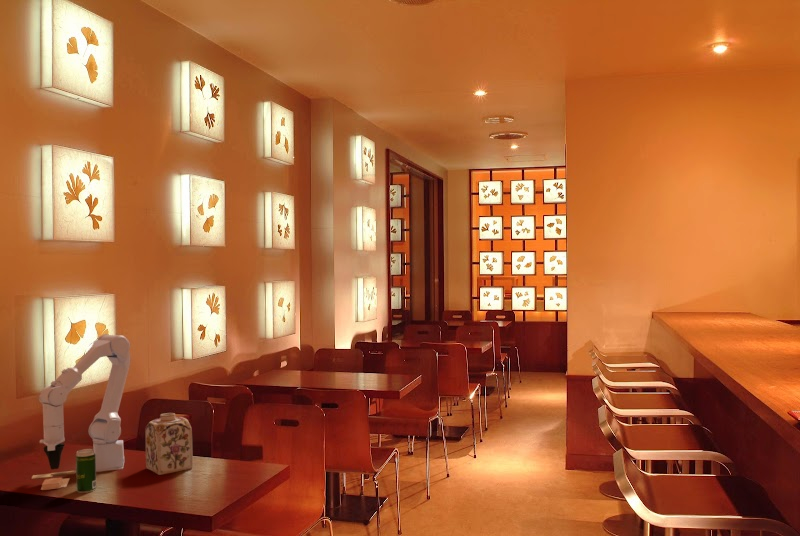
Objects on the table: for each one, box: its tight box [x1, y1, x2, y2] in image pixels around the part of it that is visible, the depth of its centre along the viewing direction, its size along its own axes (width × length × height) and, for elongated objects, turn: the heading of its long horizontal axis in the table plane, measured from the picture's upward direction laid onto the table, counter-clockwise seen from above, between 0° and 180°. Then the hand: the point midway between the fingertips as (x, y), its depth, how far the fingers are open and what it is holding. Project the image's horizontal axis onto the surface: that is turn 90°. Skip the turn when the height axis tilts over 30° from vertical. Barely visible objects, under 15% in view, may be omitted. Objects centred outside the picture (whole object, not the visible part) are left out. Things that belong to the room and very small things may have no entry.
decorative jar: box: [144, 412, 194, 476], centre depth 236 cm, size 12×12×18 cm
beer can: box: [75, 448, 97, 494], centre depth 214 cm, size 5×5×12 cm
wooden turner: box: [30, 470, 76, 480], centre depth 231 cm, size 12×4×1 cm, turn 109°
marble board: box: [40, 477, 71, 491], centre depth 221 cm, size 7×10×1 cm
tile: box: [41, 476, 63, 491], centre depth 218 cm, size 2×5×6 cm
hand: (55, 468), depth 224 cm, fingers closed
